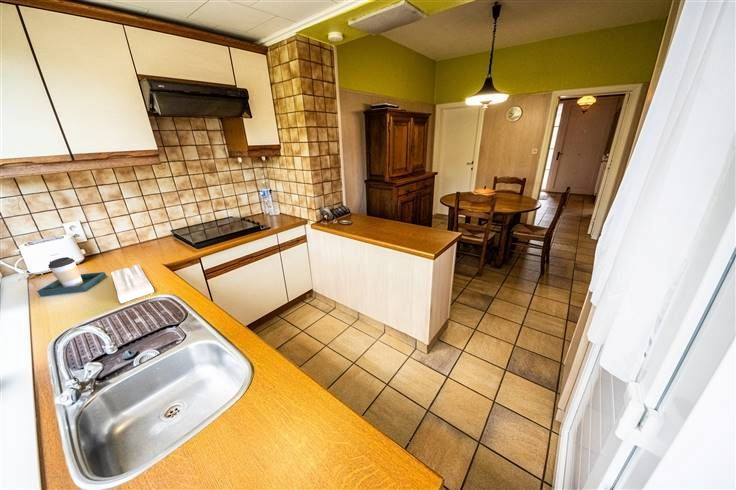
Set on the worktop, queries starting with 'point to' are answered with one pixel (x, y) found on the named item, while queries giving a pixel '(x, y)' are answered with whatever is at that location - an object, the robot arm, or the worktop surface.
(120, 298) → the hand towel
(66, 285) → the coffee cup
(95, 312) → the worktop surface
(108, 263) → the worktop surface
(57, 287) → the tray
